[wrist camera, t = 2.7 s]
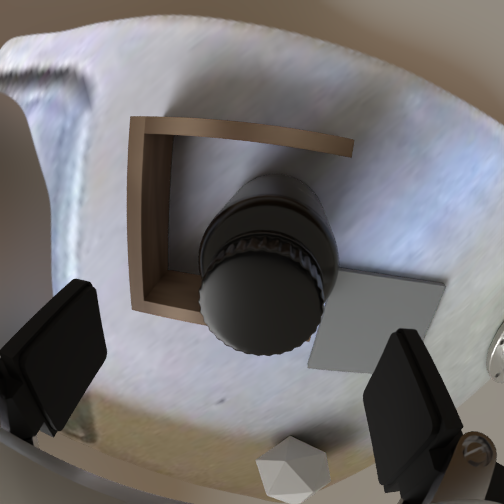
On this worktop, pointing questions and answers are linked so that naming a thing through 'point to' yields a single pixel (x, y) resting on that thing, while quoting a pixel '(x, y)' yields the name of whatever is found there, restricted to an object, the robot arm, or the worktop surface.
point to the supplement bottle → (267, 266)
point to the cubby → (158, 194)
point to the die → (293, 471)
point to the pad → (370, 318)
